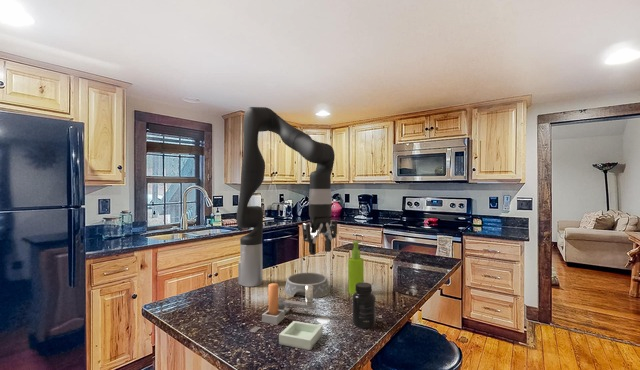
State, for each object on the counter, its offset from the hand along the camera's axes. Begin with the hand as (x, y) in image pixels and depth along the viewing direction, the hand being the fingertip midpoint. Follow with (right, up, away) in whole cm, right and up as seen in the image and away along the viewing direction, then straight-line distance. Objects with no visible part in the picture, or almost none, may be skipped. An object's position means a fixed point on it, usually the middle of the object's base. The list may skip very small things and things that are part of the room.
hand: (320, 252), depth 103 cm
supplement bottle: (+13, -20, -9) cm, 25 cm away
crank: (-9, -18, -1) cm, 20 cm away
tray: (-5, -20, -18) cm, 27 cm away
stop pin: (-15, -20, -6) cm, 25 cm away
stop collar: (-15, -20, -6) cm, 25 cm away
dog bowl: (-5, -20, +21) cm, 30 cm away
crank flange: (-16, -20, -5) cm, 26 cm away
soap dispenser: (+14, -20, +19) cm, 31 cm away
